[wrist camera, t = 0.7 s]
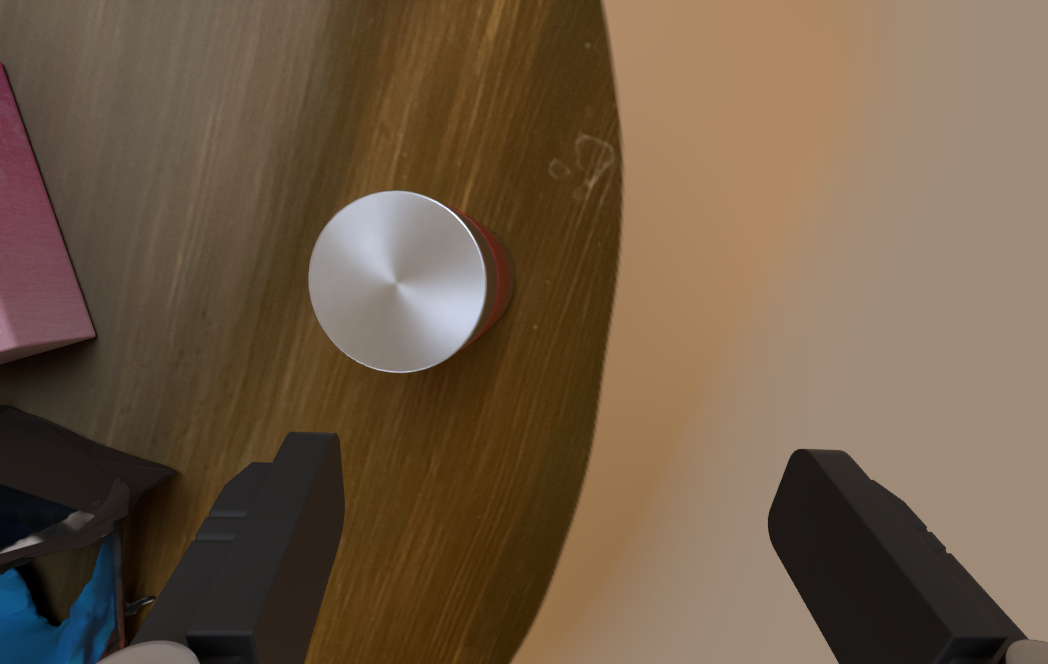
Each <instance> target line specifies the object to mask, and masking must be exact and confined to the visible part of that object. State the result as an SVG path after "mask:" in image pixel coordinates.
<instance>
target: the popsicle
mask: <svg viewBox="0 0 1048 664" xmlns="http://www.w3.org/2000/svg"><path fill="white" fill-rule="evenodd" d="M95 336H96V334H95V331H94V328H93V325H92V322H91V319H90V317H89V314H88V311H87V308H86V305H85V302H84V299H83V296H82V294H81V291H80V288H79V285H78V282H77V279H76V276H75V273H74V270H73V268H72V265H71V262H70V259H69V256H68V253H67V250H66V247H65V244H64V242H63V239H62V236H61V233H60V230H59V227H58V224H57V221H56V218H55V216H54V213H53V210H52V207H51V204H50V201H49V198H48V195H47V192H46V190H45V187H44V184H43V181H42V178H41V175H40V172H39V169H38V166H37V164H36V161H35V158H34V155H33V152H32V149H31V146H30V143H29V140H28V138H27V135H26V132H25V129H24V126H23V123H22V120H21V117H20V114H19V112H18V109H17V106H16V103H15V100H14V97H13V94H12V91H11V88H10V86H9V83H8V80H7V77H6V74H5V71H4V68H3V65H2V63H1V62H0V364H4V363H7V362H11V361H14V360H18V359H21V358H25V357H28V356H32V355H35V354H39V353H42V352H46V351H49V350H52V349H56V348H59V347H63V346H66V345H70V344H73V343H77V342H80V341H84V340H87V339H91V338H94V337H95Z"/></svg>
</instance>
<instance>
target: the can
mask: <svg viewBox="0 0 1048 664" xmlns="http://www.w3.org/2000/svg"><path fill="white" fill-rule="evenodd" d="M308 284H309V293H310V300H311V303H312V307H313V310H314V313H315V315H316V317H317V320H318V322H319V324H320V325H321V327H322V329H323V331H324V332H325V333H326V335H327V336H328V337H329V339H330V340H331V341H332V342H333V343H334V344H335V345H336V346H337V347H338V348H339V349H340V350H341V351H342V352H343V353H345V354H346V355H347V356H348V357H350V358H351V359H353V360H355V361H356V362H358V363H360V364H362V365H364V366H367V367H369V368H372V369H375V370H379V371H383V372H389V373H411V372H417V371H421V370H426V369H428V368H431V367H434V366H436V365H438V364H440V363H442V362H444V361H445V360H447V359H449V358H450V357H451V356H453V355H454V354H455V353H457V352H458V351H460V350H462V349H464V348H465V347H467V346H468V345H469V344H471V343H472V342H473V341H475V340H476V339H477V338H478V337H480V336H481V335H482V334H484V333H485V332H486V331H487V330H488V329H489V328H490V327H491V326H492V325H494V324H495V323H496V322H497V321H498V320H499V319H500V318H501V316H502V315H503V314H504V313H505V311H506V309H507V308H508V306H509V304H510V301H511V299H512V295H513V292H514V285H515V273H514V266H513V262H512V259H511V256H510V254H509V252H508V250H507V248H506V246H505V245H504V243H503V242H502V241H501V239H500V238H499V237H498V236H497V235H496V234H495V233H494V232H492V231H491V230H490V229H489V228H487V227H485V226H484V225H482V224H481V223H480V222H478V221H476V220H475V219H473V218H471V217H470V216H468V215H466V214H464V213H462V212H461V211H459V210H457V209H455V208H453V207H450V206H448V205H446V204H443V203H441V202H439V201H437V200H435V199H433V198H431V197H428V196H426V195H423V194H419V193H416V192H411V191H404V190H387V191H380V192H375V193H372V194H368V195H365V196H363V197H361V198H358V199H356V200H354V201H353V202H351V203H349V204H348V205H346V206H345V207H344V208H342V209H341V210H340V211H339V212H337V213H336V214H335V215H334V216H333V217H332V219H331V220H330V221H329V222H328V223H327V225H326V226H325V227H324V229H323V230H322V232H321V234H320V236H319V237H318V239H317V241H316V244H315V246H314V249H313V252H312V255H311V260H310V264H309V274H308Z"/></svg>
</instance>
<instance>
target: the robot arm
mask: <svg viewBox="0 0 1048 664" xmlns="http://www.w3.org/2000/svg"><path fill="white" fill-rule="evenodd" d="M344 512H345V499H344V487H343V475H342V463H341V451H340V441H339V437H338V435H337V434H336V433H315V432H290V433H288V435H287V436H286V438H285V439H284V441H283V443H282V445H281V447H280V449H279V451H278V453H277V455H276V457H275V459H274V461H273V463H258V462H252V463H251V464H250V465H248V466H247V467H246V468H245V469H244V470H242V471H241V472H240V473H239V474H238V475H236V476H235V477H234V478H233V479H232V480H230V481H229V482H228V483H227V484H226V485H225V486H224V488H223V489H222V491H221V493H220V495H219V496H218V498H217V500H216V501H215V503H214V505H213V506H212V508H211V510H210V511H209V517H206V518H205V520H204V521H203V523H202V525H201V527H200V528H199V530H198V532H197V533H196V538H195V541H192V542H191V543H190V545H189V547H188V548H187V550H186V552H185V553H184V555H183V557H182V559H181V560H180V562H179V564H178V565H177V567H176V569H175V570H174V572H173V574H172V575H171V577H170V579H169V580H168V582H167V584H166V585H165V587H164V589H163V591H162V592H161V594H160V596H159V597H158V599H157V601H156V602H155V604H154V606H153V607H152V609H151V611H150V612H149V614H148V616H147V617H146V619H145V621H144V623H143V624H142V626H141V628H140V629H139V631H138V633H137V634H136V636H135V637H134V639H133V640H132V642H131V643H130V644H129V646H128V647H126V648H124V649H122V650H119V651H117V652H115V653H113V654H111V655H109V656H107V657H106V658H104V659H102V660H100V661H99V662H98V663H96V664H304V660H305V657H306V654H307V650H308V647H309V643H310V640H311V637H312V633H313V630H314V627H315V623H316V620H317V617H318V613H319V610H320V606H321V603H322V600H323V596H324V593H325V590H326V586H327V583H328V579H329V576H330V573H331V569H332V566H333V563H334V559H335V556H336V553H337V549H338V546H339V542H340V539H341V534H342V529H343V523H344ZM926 528H927V527H926V525H925V524H924V523H923V522H922V521H921V520H920V519H919V518H918V517H917V515H916V514H915V513H914V512H913V511H912V510H911V509H910V508H909V507H908V506H907V504H906V503H905V502H904V501H902V500H901V499H900V498H898V497H897V496H895V495H894V494H893V493H891V492H890V491H888V490H887V489H886V488H884V487H883V486H881V485H880V484H878V483H877V482H876V481H874V480H871V479H870V478H869V477H868V476H867V475H866V474H865V473H864V471H863V470H862V469H861V468H860V467H859V466H858V465H857V464H856V462H855V461H854V460H853V459H852V458H851V457H850V456H849V455H848V454H847V453H846V452H844V451H841V450H819V449H818V450H817V449H798V450H796V451H795V452H794V453H793V454H792V455H791V457H790V459H789V461H788V464H787V466H786V469H785V472H784V474H783V477H782V480H781V482H780V485H779V488H778V490H777V493H776V495H775V498H774V500H773V503H772V506H771V508H770V512H769V516H768V531H769V536H770V540H771V543H772V545H773V547H774V549H775V551H776V553H777V555H778V556H779V558H780V560H781V562H782V563H783V565H784V567H785V569H786V570H787V572H788V574H789V576H790V578H791V579H792V581H793V583H794V585H795V587H796V588H797V590H798V592H799V594H800V595H801V597H802V599H803V601H804V602H805V604H806V606H807V608H808V609H809V611H810V613H811V614H812V617H813V618H814V620H815V622H816V624H817V625H818V627H819V629H820V631H821V632H822V634H823V636H824V638H825V640H826V641H827V643H828V645H829V647H830V648H831V650H832V652H833V653H834V655H835V657H836V659H837V661H838V663H839V664H1048V643H1047V642H1044V641H1038V640H1029V639H1028V638H1027V637H1026V636H1025V635H1024V633H1023V632H1022V631H1021V630H1020V629H1019V628H1018V627H1017V626H1016V625H1015V624H1014V623H1013V622H1012V620H1011V619H1010V618H1009V617H1008V616H1007V615H1006V614H1005V612H1004V611H1003V610H1002V609H1001V608H1000V607H999V606H998V605H997V604H996V603H995V602H994V600H993V599H992V598H991V597H990V596H989V595H988V594H987V593H986V592H985V590H983V588H982V587H981V586H980V585H979V584H978V583H977V582H976V581H975V579H974V578H973V577H972V576H971V575H970V574H969V573H968V572H967V571H966V569H965V568H964V567H963V566H962V565H961V564H960V563H959V562H958V561H957V560H956V558H955V557H954V556H953V555H952V554H951V553H950V554H949V553H946V547H945V546H944V545H943V544H942V543H941V542H940V541H939V540H938V539H937V538H936V536H935V535H934V534H933V533H932V532H928V531H927V529H926Z"/></svg>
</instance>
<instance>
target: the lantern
mask: <svg viewBox="0 0 1048 664" xmlns="http://www.w3.org/2000/svg"><path fill="white" fill-rule="evenodd" d="M176 474H177V472H176V471H175V470H172V469H170V468H169V467H166V466H164V465H160V464H156V463H152V462H149V461H146V460H142V459H139V458H136V457H133V456H130V455H127V454H124V453H122V452H119V451H116V450H113V449H110V448H108V447H105V446H102V445H99V444H97V443H94V442H92V441H90V440H87V439H85V438H83V437H81V436H78V435H75V434H73V433H71V432H70V431H68V430H66V429H64V428H62V427H60V426H57V425H55V424H53V423H51V422H48V421H46V420H44V419H41V418H39V417H36V416H33V415H30V414H26V413H24V412H22V411H20V410H17V409H15V408H12V407H9V406H6V405H0V664H96V663H98V662H99V661H100V660H102V659H104V658H106V657H107V656H109V655H111V654H113V653H115V652H117V651H119V650H122V649H124V648H126V647H127V643H128V641H127V639H126V637H125V619H126V617H128V616H131V615H133V614H135V613H136V612H137V610H138V609H139V608H140V607H141V606H143V605H146V604H149V603H151V602H152V601H153V600H155V599H156V597H154V596H151V597H146V598H142V599H140V600H138V601H137V602H134V603H128V602H127V601H126V599H125V580H124V574H123V549H122V546H123V517H125V516H127V515H129V512H130V511H131V510H132V508H133V507H134V505H135V504H136V502H137V501H138V500H139V498H140V497H141V495H142V494H143V492H145V491H146V490H148V489H150V488H152V487H154V486H156V485H158V484H161V483H162V482H164V481H165V480H167V479H169V478H171V477H172V476H175V475H176ZM103 536H104V541H103V543H102V544H101V547H100V551H99V555H98V558H97V560H96V562H95V563H96V564H97V565H96V566H95V568H94V571H93V576H92V580H91V581H90V582H89V583H88V584H87V585H85V587H84V589H83V591H82V593H81V595H80V596H79V597H78V599H77V600H76V601H75V602H74V603H73V604H72V607H71V608H70V609H69V616H70V617H69V618H68V619H66V620H64V621H63V622H62V623H61V626H59V627H57V626H52V625H50V624H49V622H48V619H47V618H45V617H43V616H41V615H40V614H39V613H38V612H37V611H36V609H37V608H36V606H35V604H34V602H33V599H32V597H31V593H30V590H29V589H28V587H27V585H26V582H25V581H24V579H23V577H22V576H21V574H20V572H19V571H17V570H16V569H15V567H16V566H17V567H19V566H22V565H25V564H27V563H29V562H30V561H32V560H33V559H35V558H37V557H38V556H46V555H49V554H51V553H55V552H61V551H67V550H75V549H78V548H81V547H84V546H88V545H91V544H93V543H95V542H96V541H97V540H98V539H99V538H101V537H103Z"/></svg>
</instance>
